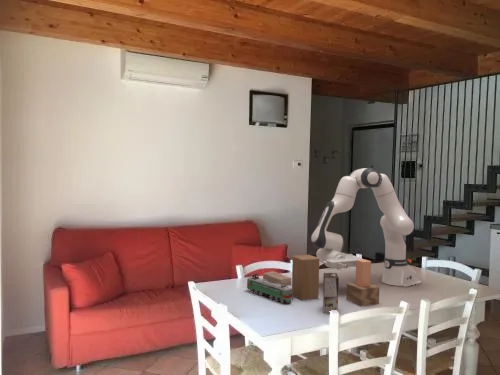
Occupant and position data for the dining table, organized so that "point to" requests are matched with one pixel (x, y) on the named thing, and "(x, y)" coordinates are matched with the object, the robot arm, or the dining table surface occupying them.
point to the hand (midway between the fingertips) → (354, 266)
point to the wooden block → (305, 277)
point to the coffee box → (330, 292)
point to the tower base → (362, 294)
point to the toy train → (269, 289)
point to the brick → (277, 278)
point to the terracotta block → (363, 273)
